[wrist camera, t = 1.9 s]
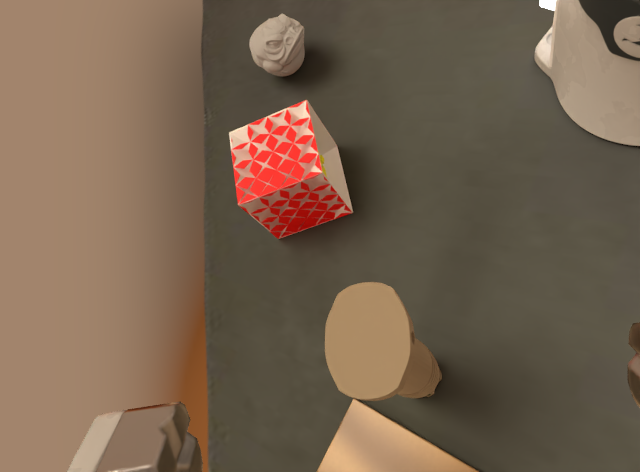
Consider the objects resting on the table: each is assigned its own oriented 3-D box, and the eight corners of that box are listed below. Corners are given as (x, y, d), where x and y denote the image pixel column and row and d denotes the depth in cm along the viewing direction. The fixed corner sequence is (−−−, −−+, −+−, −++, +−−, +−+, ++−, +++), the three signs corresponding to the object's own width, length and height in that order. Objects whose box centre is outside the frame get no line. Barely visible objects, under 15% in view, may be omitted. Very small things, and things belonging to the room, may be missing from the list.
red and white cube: (353, 212, 50) (322, 172, 43) (278, 239, 52) (238, 205, 45) (337, 145, 53) (306, 98, 47) (267, 172, 55) (228, 131, 49)
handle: (394, 421, 41) (325, 400, 28) (390, 339, 44) (325, 287, 31) (457, 419, 40) (413, 397, 27) (449, 334, 42) (406, 277, 29)
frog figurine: (306, 94, 57) (278, 52, 51) (257, 84, 61) (225, 43, 55) (330, 49, 59) (305, 2, 53) (280, 42, 62) (252, -3, 56)
